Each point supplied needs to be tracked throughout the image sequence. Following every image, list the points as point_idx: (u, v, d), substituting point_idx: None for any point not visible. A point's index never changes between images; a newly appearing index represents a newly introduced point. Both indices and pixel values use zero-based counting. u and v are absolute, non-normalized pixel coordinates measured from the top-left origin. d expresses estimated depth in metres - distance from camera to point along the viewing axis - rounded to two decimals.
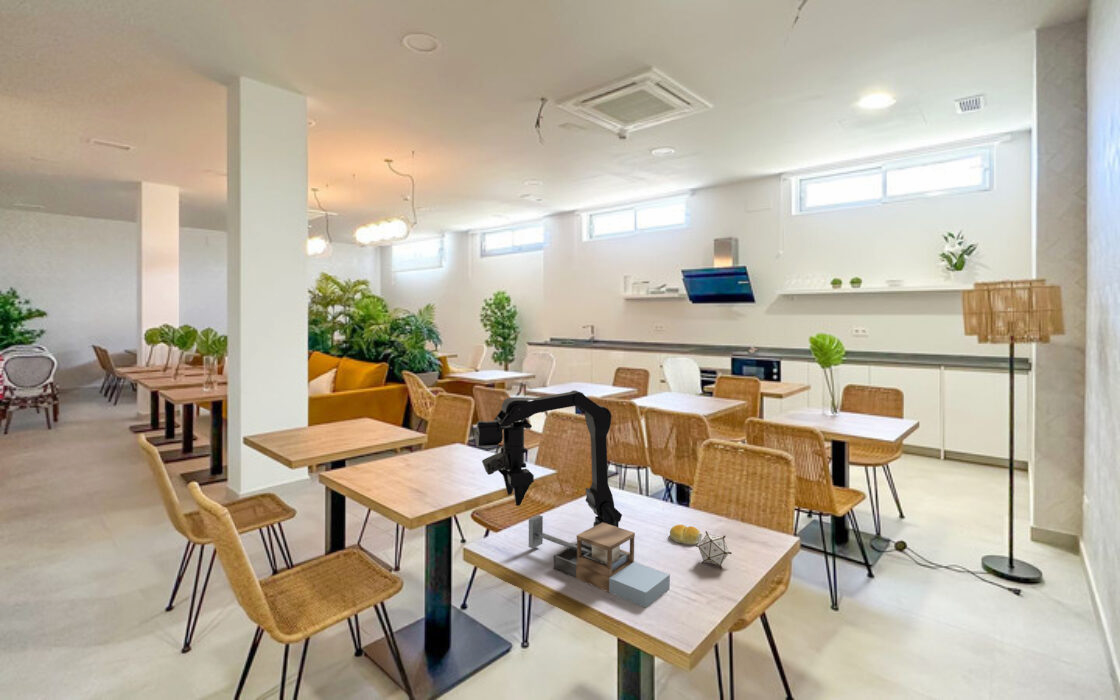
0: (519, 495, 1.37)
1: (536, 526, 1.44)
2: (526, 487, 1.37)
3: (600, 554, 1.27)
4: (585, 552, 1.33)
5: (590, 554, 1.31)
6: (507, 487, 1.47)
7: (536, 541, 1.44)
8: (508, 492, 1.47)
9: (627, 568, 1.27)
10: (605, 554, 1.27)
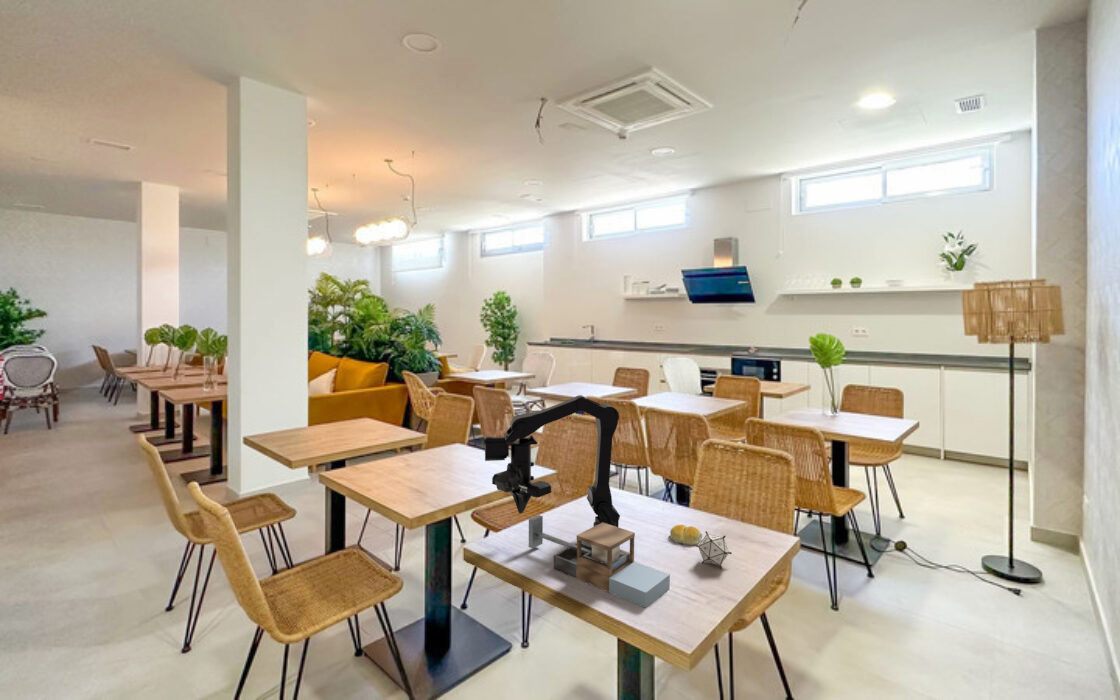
0: (524, 503, 1.48)
1: (536, 526, 1.44)
2: None
3: (600, 554, 1.27)
4: (585, 552, 1.33)
5: (590, 554, 1.31)
6: None
7: (536, 541, 1.44)
8: None
9: (627, 568, 1.27)
10: (605, 554, 1.27)
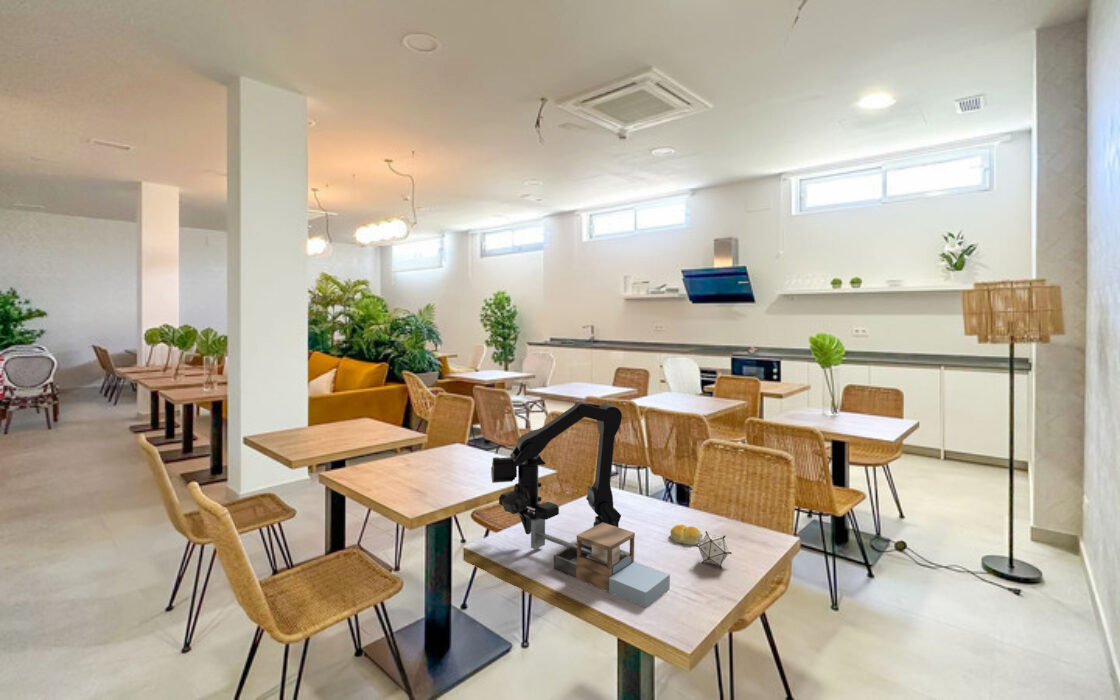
0: None
1: (538, 527, 1.44)
2: None
3: (600, 554, 1.27)
4: (588, 553, 1.32)
5: None
6: None
7: (538, 542, 1.44)
8: None
9: (627, 568, 1.27)
10: (605, 554, 1.27)
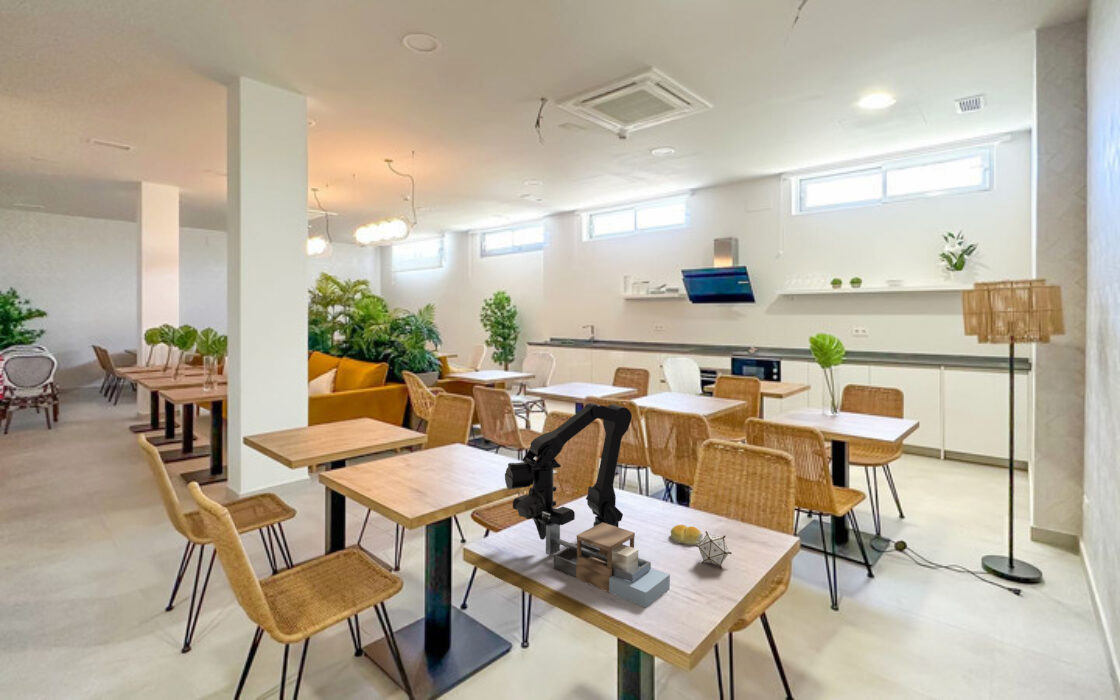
0: None
1: (553, 532, 1.40)
2: None
3: (619, 560, 1.24)
4: (605, 560, 1.29)
5: None
6: (540, 532, 1.43)
7: (553, 548, 1.40)
8: None
9: None
10: (624, 561, 1.23)
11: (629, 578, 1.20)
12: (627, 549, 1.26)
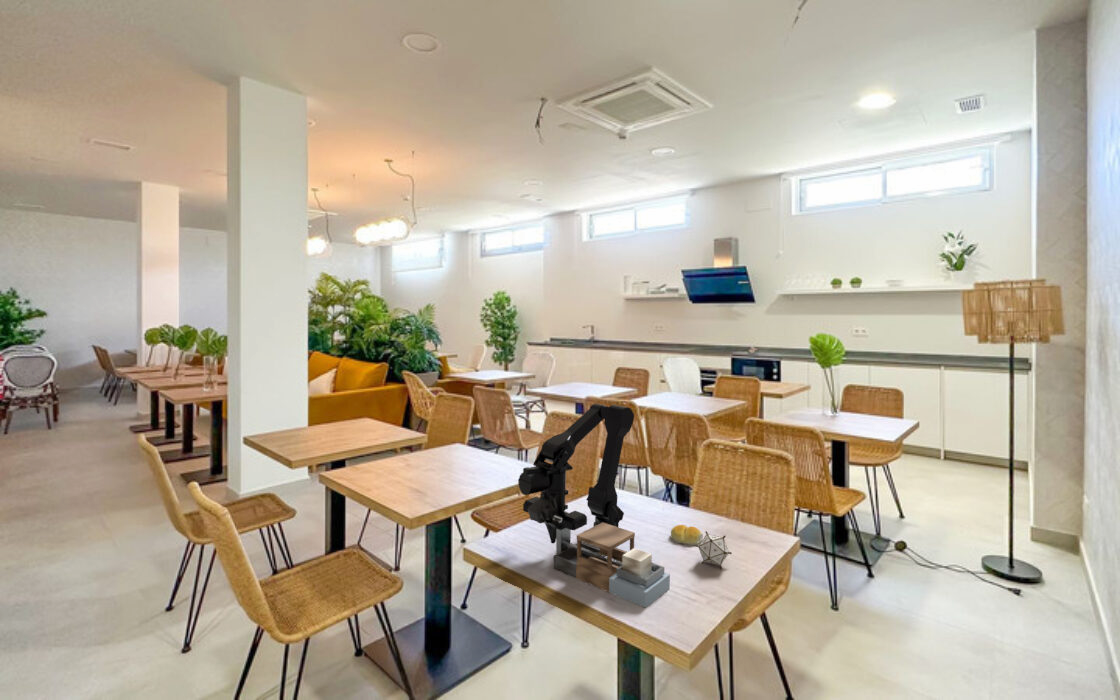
0: None
1: (564, 536, 1.38)
2: (562, 523, 1.41)
3: (632, 565, 1.22)
4: (618, 564, 1.26)
5: None
6: None
7: None
8: (553, 541, 1.41)
9: None
10: (637, 566, 1.21)
11: (643, 583, 1.18)
12: (640, 553, 1.24)
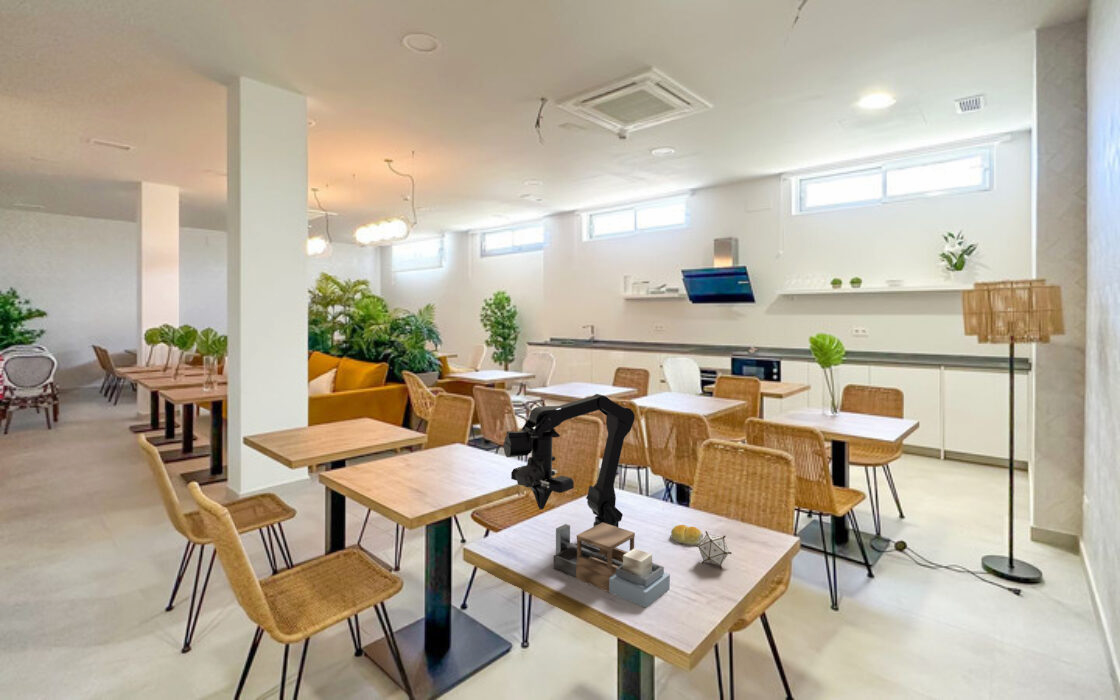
0: (545, 499, 1.43)
1: (563, 536, 1.38)
2: (551, 490, 1.43)
3: (632, 566, 1.21)
4: (617, 564, 1.27)
5: None
6: (539, 501, 1.43)
7: None
8: None
9: None
10: (638, 566, 1.21)
11: (642, 583, 1.18)
12: (641, 553, 1.24)
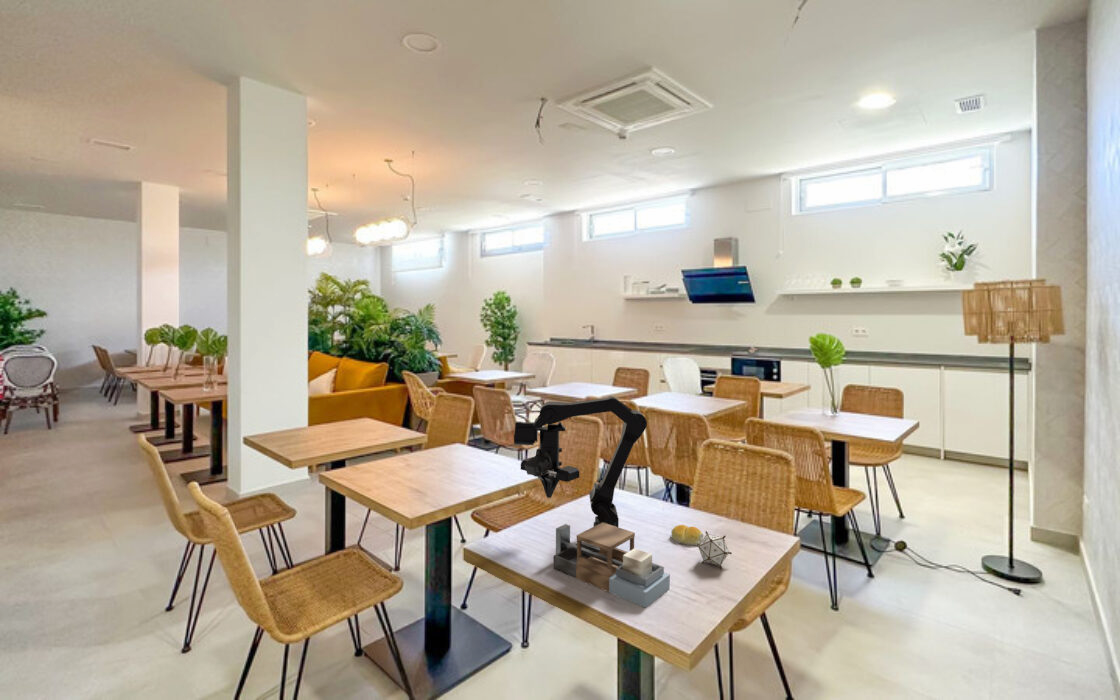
0: (552, 488, 1.52)
1: (563, 536, 1.38)
2: (558, 479, 1.52)
3: (632, 566, 1.21)
4: (617, 564, 1.27)
5: None
6: None
7: None
8: None
9: None
10: (638, 566, 1.21)
11: (642, 583, 1.18)
12: (641, 553, 1.24)
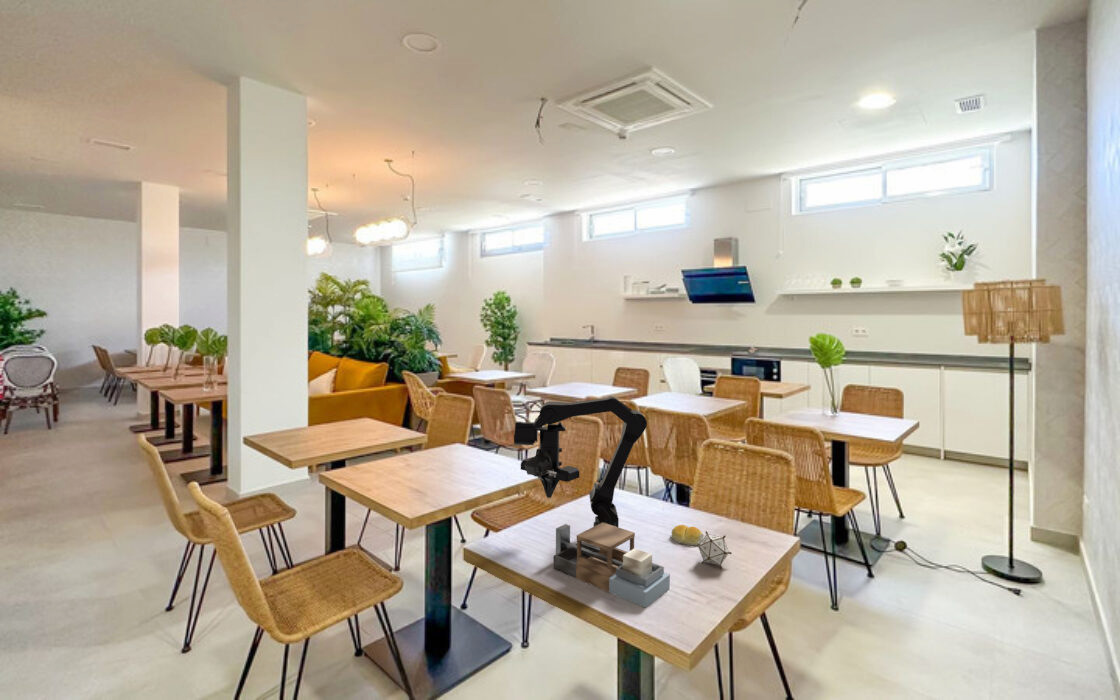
0: (552, 488, 1.52)
1: (563, 536, 1.38)
2: (558, 479, 1.52)
3: (632, 566, 1.21)
4: (617, 564, 1.27)
5: None
6: None
7: None
8: None
9: None
10: (638, 566, 1.21)
11: (642, 583, 1.18)
12: (641, 553, 1.24)
